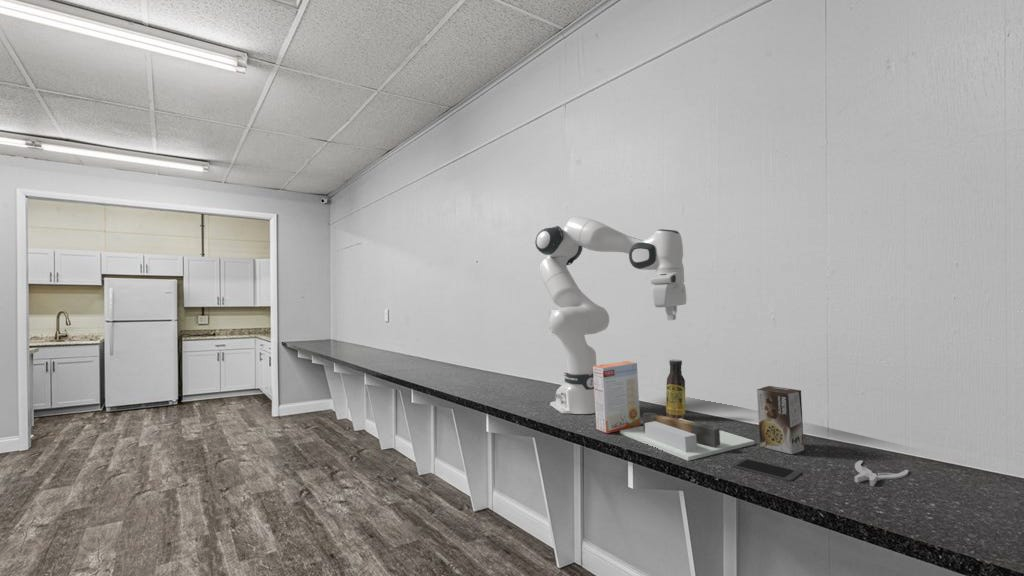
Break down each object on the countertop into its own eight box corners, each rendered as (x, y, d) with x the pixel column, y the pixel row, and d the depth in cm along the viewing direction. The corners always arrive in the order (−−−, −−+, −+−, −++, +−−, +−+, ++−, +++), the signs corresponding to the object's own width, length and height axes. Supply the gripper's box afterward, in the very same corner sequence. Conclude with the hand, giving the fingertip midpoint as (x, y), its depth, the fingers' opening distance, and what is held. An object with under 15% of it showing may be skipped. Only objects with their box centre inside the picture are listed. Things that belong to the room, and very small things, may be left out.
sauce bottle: (664, 419, 165) (661, 360, 165) (669, 414, 170) (667, 358, 170) (683, 421, 161) (681, 361, 161) (688, 416, 167) (686, 359, 167)
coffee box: (805, 450, 130) (802, 390, 130) (791, 455, 126) (788, 393, 126) (772, 441, 137) (769, 385, 137) (758, 446, 134) (756, 388, 134)
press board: (620, 433, 151) (619, 417, 151) (680, 421, 161) (680, 406, 161) (688, 460, 125) (687, 441, 125) (754, 444, 136) (753, 426, 136)
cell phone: (790, 483, 110) (790, 480, 110) (730, 468, 120) (729, 465, 120) (802, 474, 114) (802, 471, 114) (743, 460, 125) (743, 457, 125)
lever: (640, 428, 150) (640, 414, 150) (649, 426, 153) (649, 411, 153) (713, 447, 130) (712, 430, 130) (722, 443, 133) (721, 427, 133)
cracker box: (628, 422, 162) (626, 360, 162) (641, 427, 157) (638, 362, 157) (594, 429, 156) (592, 364, 156) (606, 434, 151) (603, 367, 151)
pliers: (909, 466, 113) (890, 484, 103) (909, 473, 113) (891, 492, 103) (859, 456, 120) (837, 472, 111) (859, 462, 120) (838, 479, 111)
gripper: (672, 278, 169) (673, 317, 169) (648, 278, 153) (650, 322, 153) (690, 277, 165) (692, 317, 165) (668, 277, 149) (669, 322, 149)
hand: (671, 320), depth 159 cm, fingers closed
